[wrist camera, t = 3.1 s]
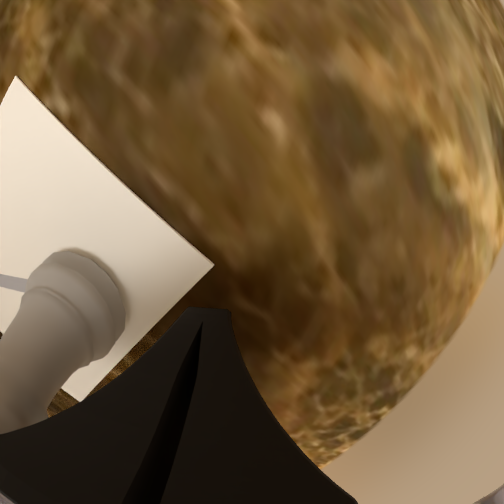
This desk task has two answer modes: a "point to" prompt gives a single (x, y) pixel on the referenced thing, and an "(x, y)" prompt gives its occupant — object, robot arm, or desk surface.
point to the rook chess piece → (55, 334)
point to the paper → (82, 227)
